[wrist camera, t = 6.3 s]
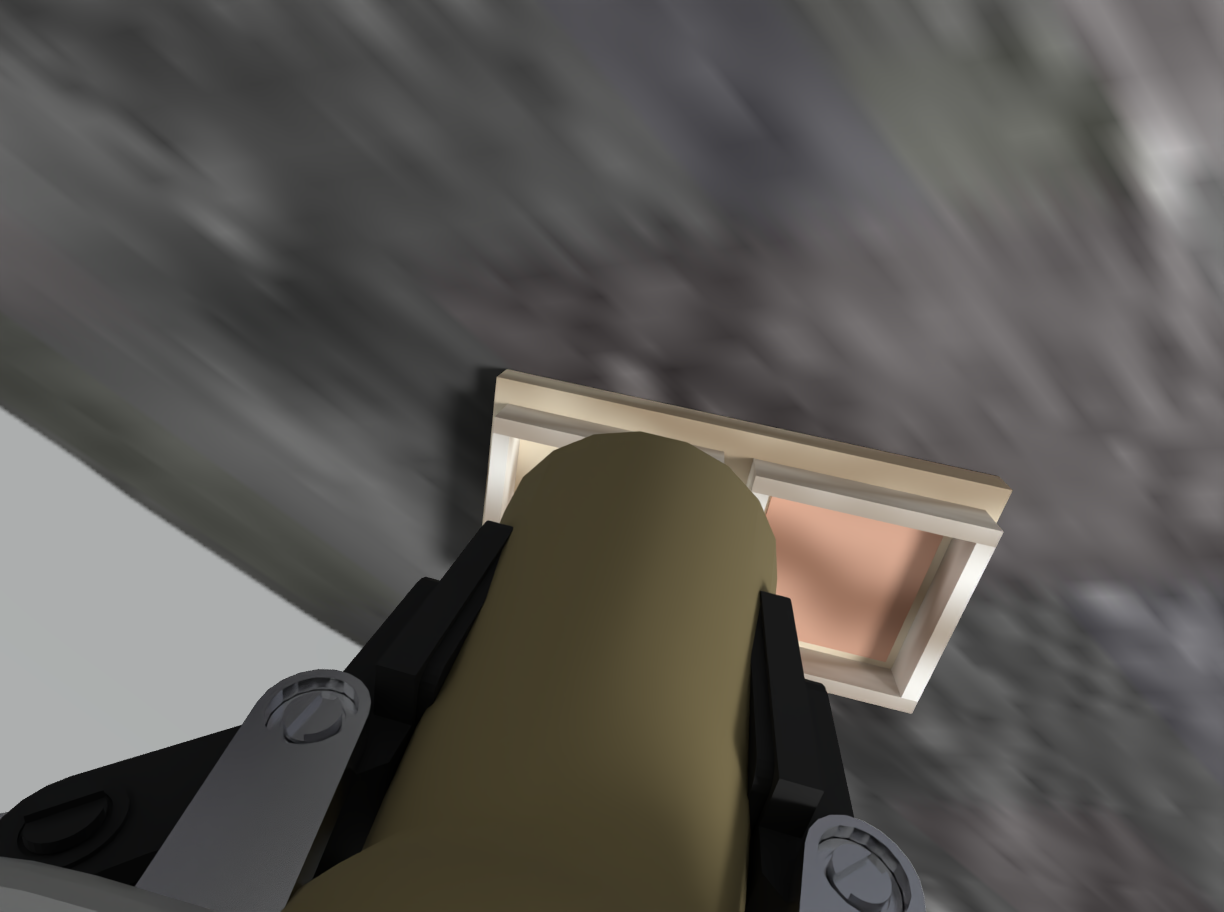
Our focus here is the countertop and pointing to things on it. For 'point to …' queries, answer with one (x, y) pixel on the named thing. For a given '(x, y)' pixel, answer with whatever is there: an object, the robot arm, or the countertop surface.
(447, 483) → the countertop surface
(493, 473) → the spice holder
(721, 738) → the cork
